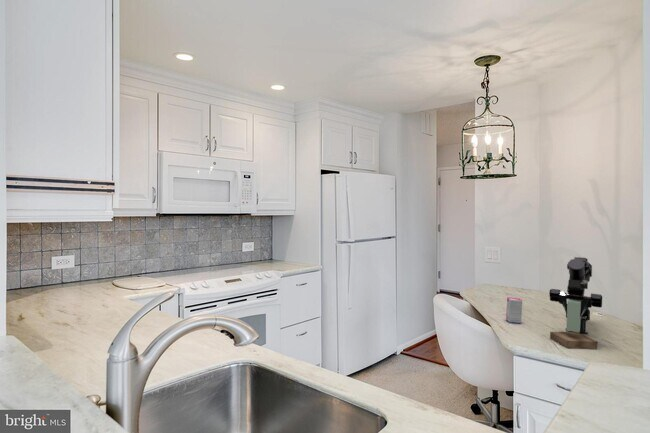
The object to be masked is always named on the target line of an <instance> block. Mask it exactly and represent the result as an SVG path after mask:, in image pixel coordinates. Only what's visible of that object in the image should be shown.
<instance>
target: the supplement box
mask: <svg viewBox="0 0 650 433" xmlns="http://www.w3.org/2000/svg"><path fill="white" fill-rule="evenodd" d="M522 314H523V300H522V299H520V298H519V297H509V296H508V297H507V298H506V314H505V321H506V322H507V323H509V324H515V325H516V324H517V325H522Z"/></svg>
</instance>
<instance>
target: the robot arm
mask: <svg viewBox="0 0 650 433" xmlns="http://www.w3.org/2000/svg"><path fill="white" fill-rule="evenodd" d="M573 258H574V259H570V260H569V261H567V262H568V263H567V264H566V268H567V270H568V274H569V277H568V278H569V279H568V282H567V284H568V285H567V286H566V287H567V289H566V292H567V293H566V292H565V291H562V290H561V289H556V288H550V289H549V291H548V292H549V294H548V296H549V301H551V302H557V303H559V304H561V305H562V307H563V308H564V313H565V318H566V319H567V301H568V299H570V300H577V301H581V311H580V316H581V318H580V332H579V333H581V334H583V335H589V334H588V331H587V330H586V327H587V326H586V325H587V322H588V321H590V319H591V311H590V309H591V308H592V307H593V308H603V295H602V294H598V293H592V292H591V293H590V296H588V295H587V296H586V295H585V293H586V292H585V290H588V289H589V288H588V283H589V282H590V280H591V278H592V276H593V265H592V264H591V263H589V261H588V260H589V259H588V258H586V257H581V256H579V257H578V256H577V257H576V256H575V257H573ZM589 308H590V309H589ZM569 332H573V331H569Z"/></svg>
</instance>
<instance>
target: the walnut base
mask: <svg viewBox="0 0 650 433" xmlns="http://www.w3.org/2000/svg"><path fill="white" fill-rule="evenodd" d="M549 339H550V340H552V341H553V342H554V343H556V344H558V343H559V345H561V346H562V347H564V348H565V349H572V348H573V350H575V349H577V350H597V349H598V341H596V340H595V339H593V338H591V337H589V336H587V335H586V334H581V333H579V332H570V331H550V332H549Z"/></svg>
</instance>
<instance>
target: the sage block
mask: <svg viewBox="0 0 650 433" xmlns="http://www.w3.org/2000/svg"><path fill="white" fill-rule="evenodd" d="M580 311H581V301H577V300H570V299H567V318H566V328H565V330H566V332H570V331H573V332H580V318H581V316H580Z"/></svg>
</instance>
